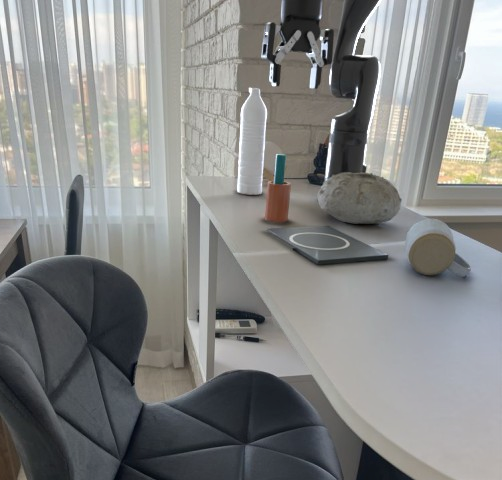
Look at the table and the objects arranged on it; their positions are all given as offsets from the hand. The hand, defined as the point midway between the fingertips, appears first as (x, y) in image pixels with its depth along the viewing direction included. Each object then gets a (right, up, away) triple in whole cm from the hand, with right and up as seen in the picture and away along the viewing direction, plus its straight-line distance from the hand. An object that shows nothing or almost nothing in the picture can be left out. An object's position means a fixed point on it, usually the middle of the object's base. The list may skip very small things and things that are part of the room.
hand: (294, 87), depth 100 cm
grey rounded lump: (+14, -24, +12) cm, 30 cm away
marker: (-3, -25, +7) cm, 26 cm away
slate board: (+5, -33, -7) cm, 34 cm away
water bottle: (-9, -11, +35) cm, 38 cm away
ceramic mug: (+21, -39, -17) cm, 47 cm away
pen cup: (-3, -25, +7) cm, 26 cm away
